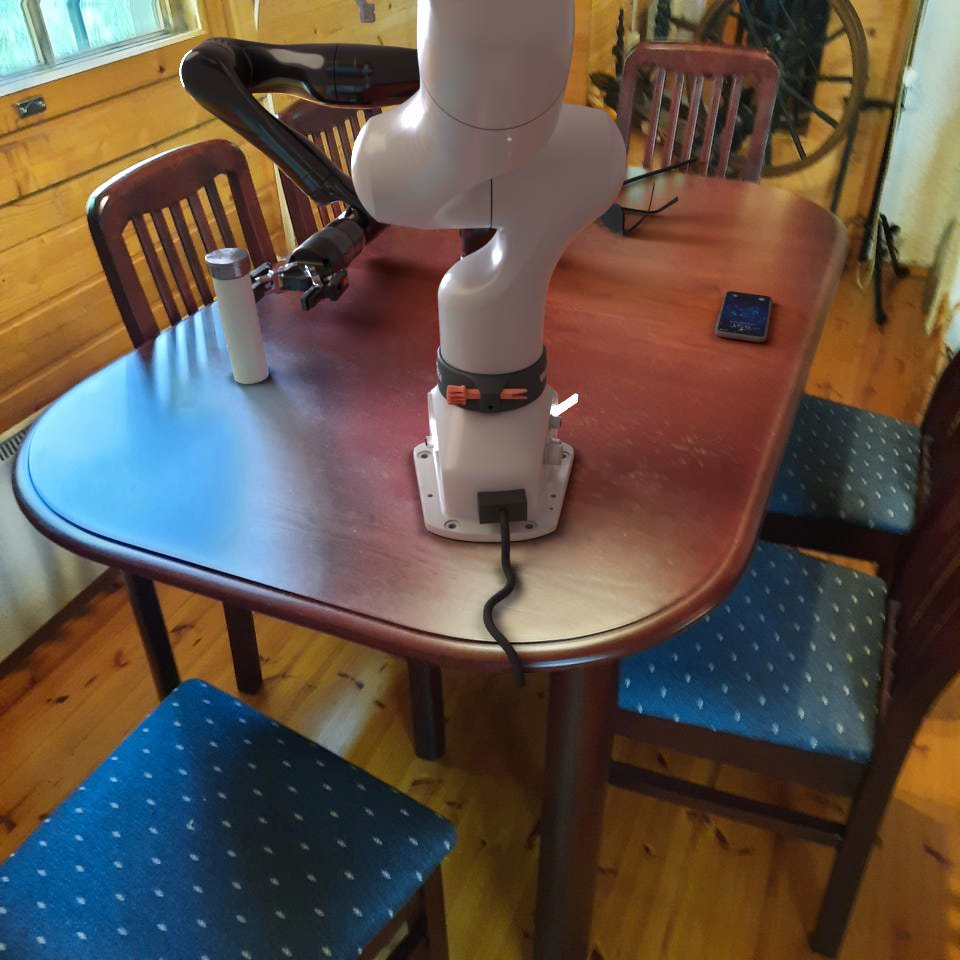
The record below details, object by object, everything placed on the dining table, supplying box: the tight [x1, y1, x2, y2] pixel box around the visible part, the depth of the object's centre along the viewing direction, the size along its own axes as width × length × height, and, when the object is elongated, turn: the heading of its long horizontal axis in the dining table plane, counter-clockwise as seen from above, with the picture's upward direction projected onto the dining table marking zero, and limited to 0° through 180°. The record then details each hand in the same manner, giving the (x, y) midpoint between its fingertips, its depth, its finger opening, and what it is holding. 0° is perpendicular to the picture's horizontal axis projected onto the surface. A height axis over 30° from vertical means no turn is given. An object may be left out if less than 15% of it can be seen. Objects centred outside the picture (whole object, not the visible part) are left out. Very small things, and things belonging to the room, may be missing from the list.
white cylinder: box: [211, 271, 270, 385], centre depth 113 cm, size 5×5×17 cm
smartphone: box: [714, 290, 774, 343], centre depth 128 cm, size 7×1×15 cm
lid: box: [205, 247, 252, 279], centre depth 108 cm, size 5×5×2 cm
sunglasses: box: [597, 181, 679, 236], centre depth 161 cm, size 17×14×5 cm
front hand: (408, 21), depth 98 cm, fingers open, 8 cm apart
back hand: (276, 301), depth 122 cm, fingers open, 8 cm apart
